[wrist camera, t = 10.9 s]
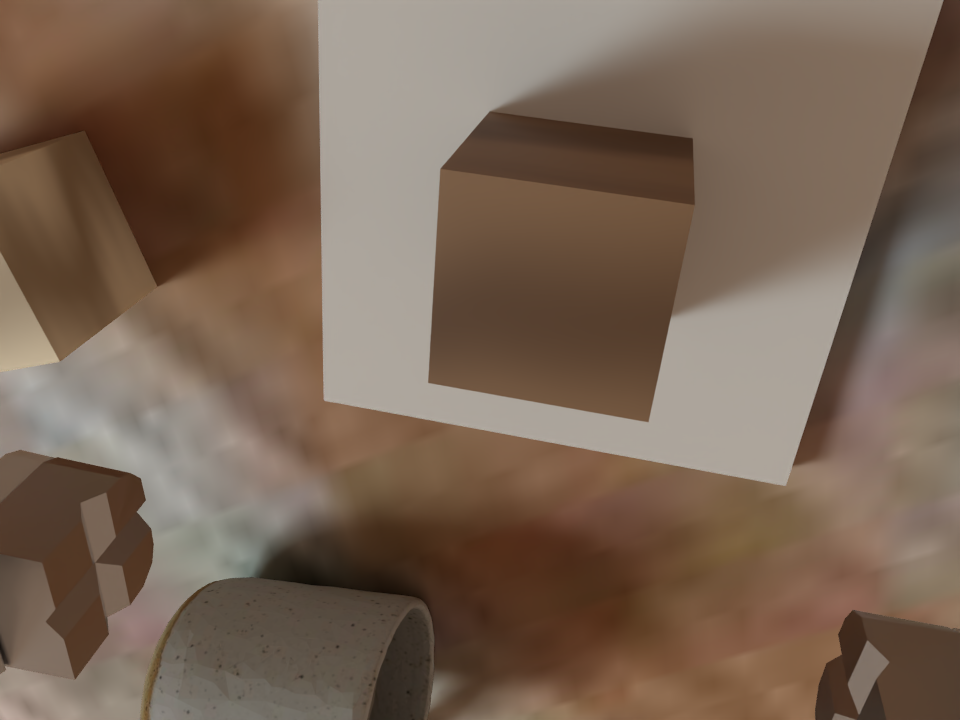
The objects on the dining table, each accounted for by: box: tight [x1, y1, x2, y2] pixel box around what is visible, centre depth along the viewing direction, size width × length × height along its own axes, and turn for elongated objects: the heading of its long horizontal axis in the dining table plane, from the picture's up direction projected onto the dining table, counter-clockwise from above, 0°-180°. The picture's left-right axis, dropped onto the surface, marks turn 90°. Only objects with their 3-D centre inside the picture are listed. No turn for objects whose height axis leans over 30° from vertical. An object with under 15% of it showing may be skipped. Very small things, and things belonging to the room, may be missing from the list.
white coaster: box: [318, 0, 943, 486], centre depth 22 cm, size 14×14×1 cm
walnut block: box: [428, 112, 695, 422], centre depth 20 cm, size 5×5×5 cm
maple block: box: [0, 131, 157, 372], centre depth 25 cm, size 5×5×5 cm
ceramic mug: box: [140, 577, 434, 720], centre depth 30 cm, size 11×8×8 cm
